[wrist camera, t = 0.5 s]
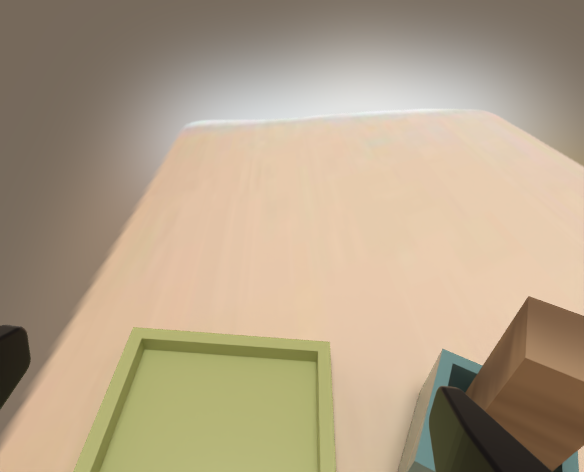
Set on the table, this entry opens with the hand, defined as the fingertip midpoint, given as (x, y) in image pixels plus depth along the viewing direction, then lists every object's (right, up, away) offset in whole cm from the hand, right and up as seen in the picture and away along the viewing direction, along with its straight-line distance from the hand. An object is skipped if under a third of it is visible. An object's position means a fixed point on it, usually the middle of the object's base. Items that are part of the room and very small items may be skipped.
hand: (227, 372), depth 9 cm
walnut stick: (+11, -10, +14) cm, 21 cm away
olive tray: (-3, -9, +14) cm, 17 cm away
